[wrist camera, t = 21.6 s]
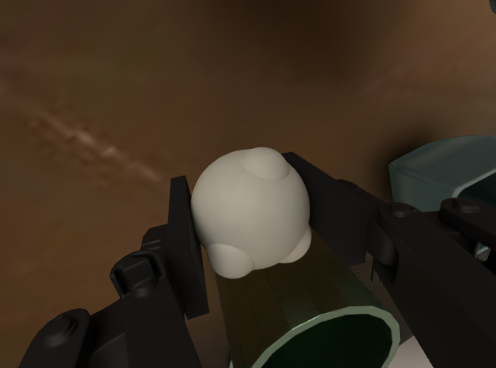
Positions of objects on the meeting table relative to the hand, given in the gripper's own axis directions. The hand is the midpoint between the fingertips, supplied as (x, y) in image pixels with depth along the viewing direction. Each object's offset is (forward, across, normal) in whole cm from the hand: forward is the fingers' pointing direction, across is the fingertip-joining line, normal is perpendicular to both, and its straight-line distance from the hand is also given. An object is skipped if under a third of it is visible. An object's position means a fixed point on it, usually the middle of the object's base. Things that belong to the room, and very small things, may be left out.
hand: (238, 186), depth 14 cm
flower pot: (+8, +21, -7) cm, 24 cm away
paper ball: (-3, 0, 0) cm, 3 cm away
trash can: (+8, +3, -12) cm, 15 cm away
